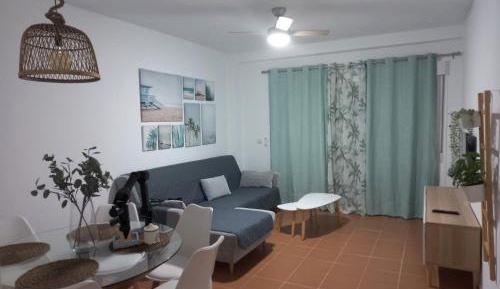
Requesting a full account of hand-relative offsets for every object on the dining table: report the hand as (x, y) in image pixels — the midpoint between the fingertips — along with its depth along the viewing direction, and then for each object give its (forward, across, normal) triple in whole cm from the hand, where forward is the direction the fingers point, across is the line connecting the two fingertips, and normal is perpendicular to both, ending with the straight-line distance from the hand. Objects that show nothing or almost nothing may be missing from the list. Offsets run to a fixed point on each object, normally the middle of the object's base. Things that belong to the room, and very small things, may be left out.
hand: (125, 237), depth 202 cm
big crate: (+4, 0, 0) cm, 4 cm away
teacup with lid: (+4, +4, +15) cm, 16 cm away
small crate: (+2, 0, 0) cm, 2 cm away
